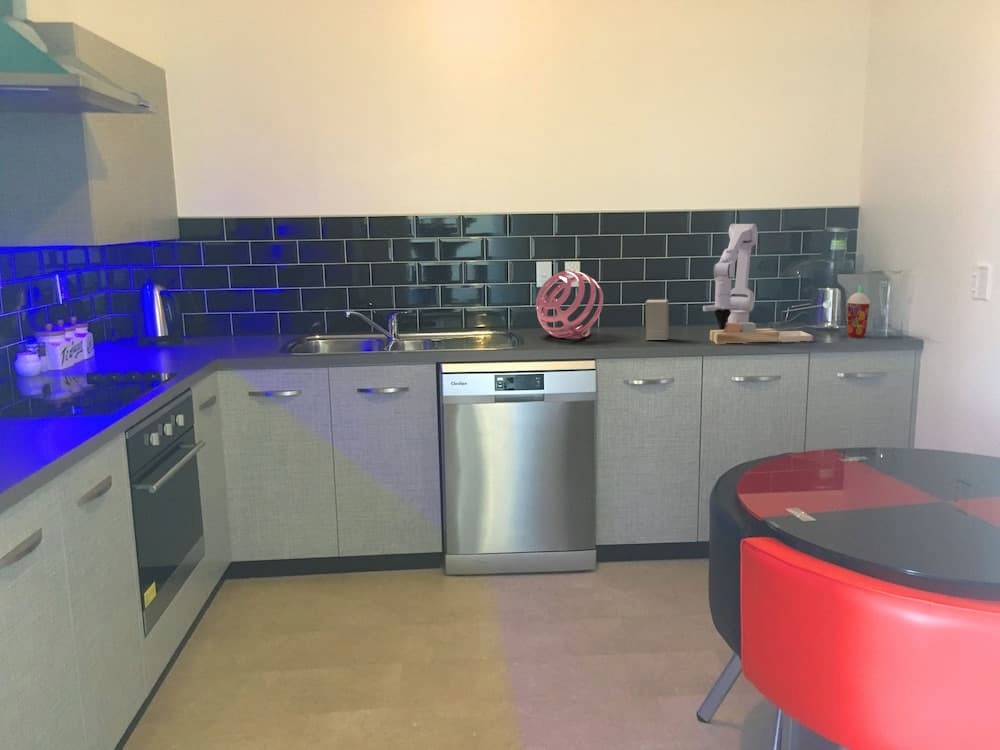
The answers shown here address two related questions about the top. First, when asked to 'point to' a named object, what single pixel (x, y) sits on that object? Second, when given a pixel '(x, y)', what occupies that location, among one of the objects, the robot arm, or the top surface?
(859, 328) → the smoothie
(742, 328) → the tile
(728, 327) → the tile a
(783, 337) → the tray
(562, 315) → the spiral basket
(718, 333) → the board
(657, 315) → the skincare box
